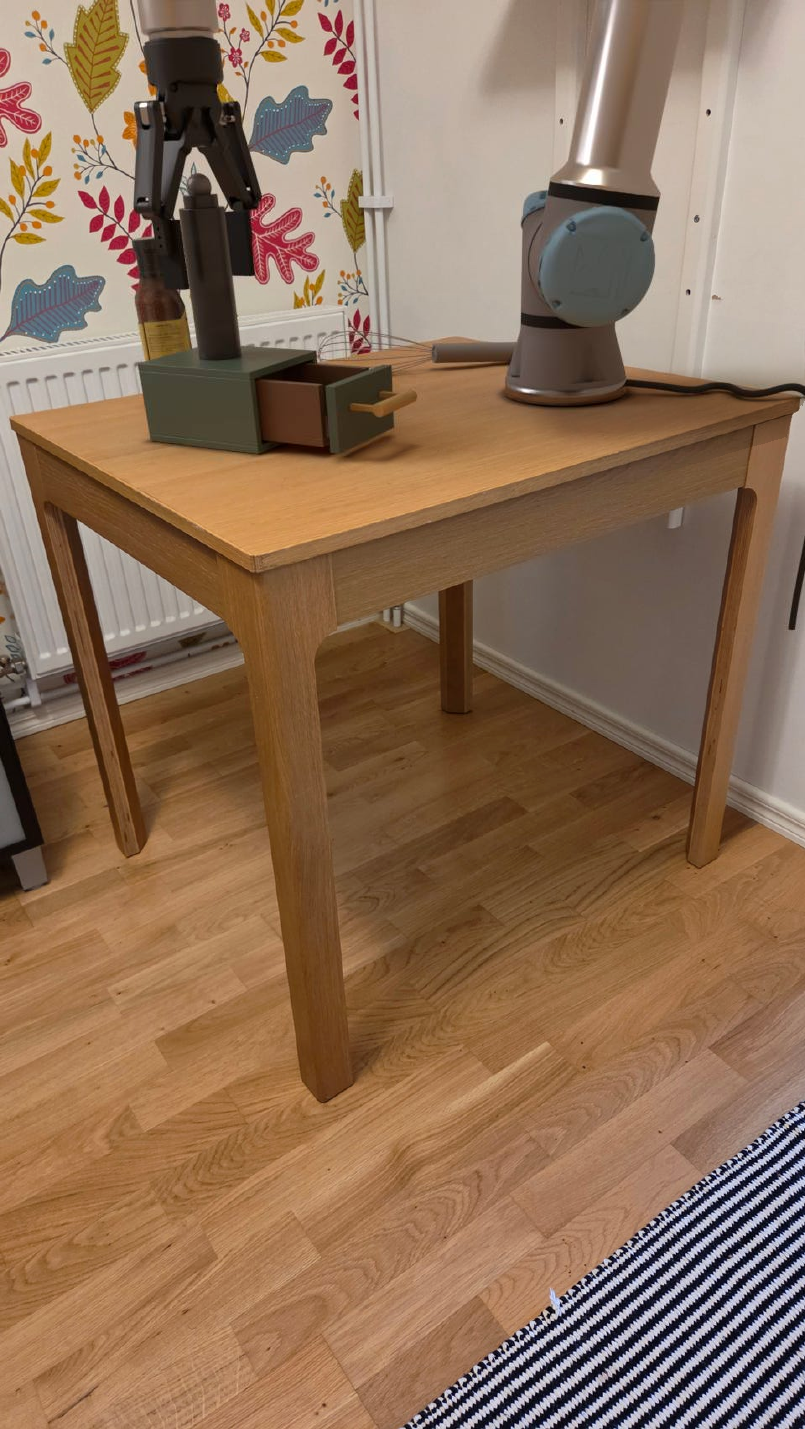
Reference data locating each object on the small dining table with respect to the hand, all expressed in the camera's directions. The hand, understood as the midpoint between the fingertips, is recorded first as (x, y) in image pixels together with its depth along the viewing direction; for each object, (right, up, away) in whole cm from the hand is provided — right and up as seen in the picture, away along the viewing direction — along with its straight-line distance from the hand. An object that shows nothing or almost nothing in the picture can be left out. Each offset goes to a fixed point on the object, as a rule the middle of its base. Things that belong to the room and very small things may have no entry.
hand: (211, 282), depth 108 cm
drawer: (+13, -16, +2) cm, 21 cm away
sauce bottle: (-9, -6, +23) cm, 26 cm away
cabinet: (+2, -14, +8) cm, 16 cm away
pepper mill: (0, -7, +4) cm, 8 cm away
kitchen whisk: (+25, +3, +36) cm, 43 cm away
